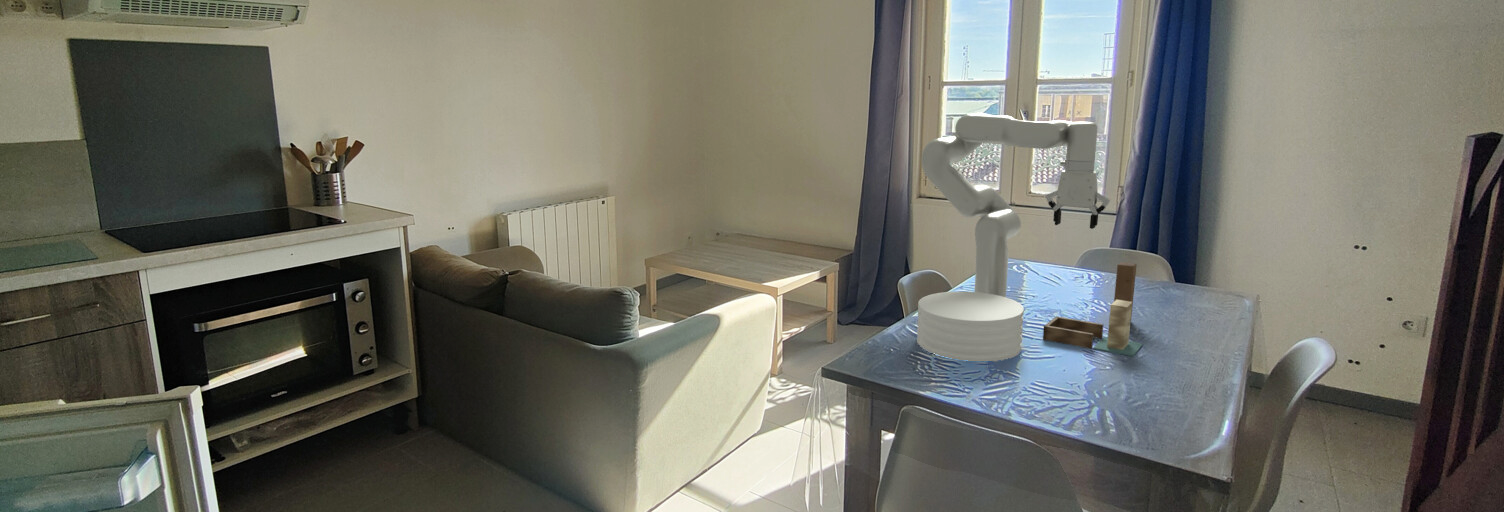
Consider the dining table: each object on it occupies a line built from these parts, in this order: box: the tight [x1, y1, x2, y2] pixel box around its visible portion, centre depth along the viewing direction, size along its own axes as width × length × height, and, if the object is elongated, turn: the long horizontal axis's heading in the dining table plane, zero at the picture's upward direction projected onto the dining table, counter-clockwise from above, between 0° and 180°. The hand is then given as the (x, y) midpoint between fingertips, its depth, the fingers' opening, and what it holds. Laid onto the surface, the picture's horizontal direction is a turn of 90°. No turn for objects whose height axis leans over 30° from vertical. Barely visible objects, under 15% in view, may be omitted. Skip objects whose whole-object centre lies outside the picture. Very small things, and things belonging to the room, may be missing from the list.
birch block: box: [1107, 300, 1133, 350], centre depth 211 cm, size 4×6×12 cm, turn 142°
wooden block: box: [1108, 261, 1138, 321], centre depth 229 cm, size 9×4×18 cm, turn 144°
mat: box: [1092, 336, 1144, 357], centre depth 212 cm, size 10×11×1 cm
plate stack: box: [916, 291, 1025, 362], centre depth 216 cm, size 28×28×12 cm
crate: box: [1042, 315, 1104, 350], centre depth 219 cm, size 13×11×4 cm
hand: (1074, 226), depth 223 cm, fingers open, 9 cm apart
